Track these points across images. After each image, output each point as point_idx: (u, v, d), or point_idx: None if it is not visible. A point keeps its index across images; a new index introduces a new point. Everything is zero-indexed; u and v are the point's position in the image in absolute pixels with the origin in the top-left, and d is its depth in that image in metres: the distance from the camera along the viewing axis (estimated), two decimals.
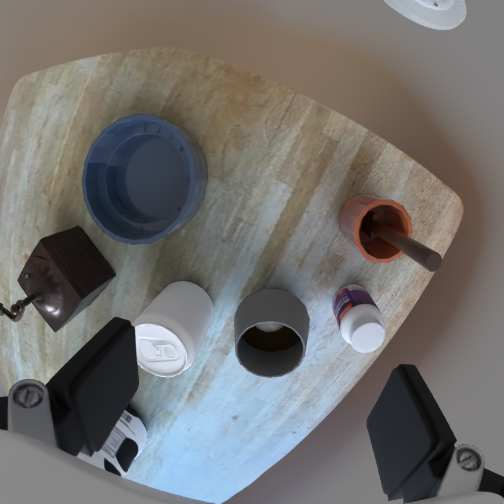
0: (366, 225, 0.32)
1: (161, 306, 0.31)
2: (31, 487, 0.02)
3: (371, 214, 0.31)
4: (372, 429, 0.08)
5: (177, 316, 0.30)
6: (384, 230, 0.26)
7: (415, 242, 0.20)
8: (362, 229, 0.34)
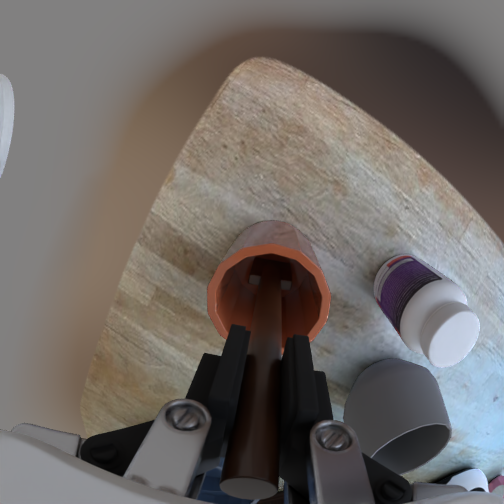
0: None
1: None
2: (31, 487, 0.02)
3: None
4: None
5: None
6: None
7: None
8: None
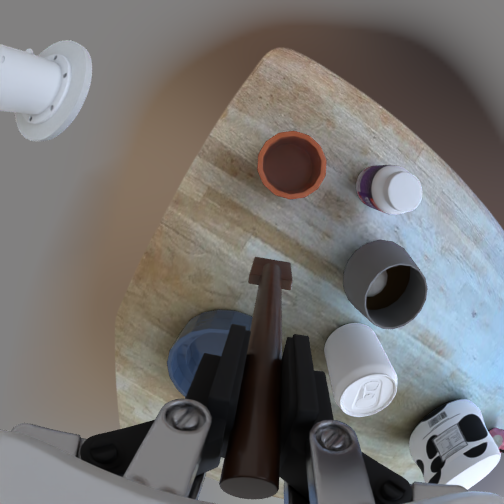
0: None
1: (333, 379, 0.32)
2: (31, 487, 0.02)
3: None
4: None
5: (343, 371, 0.30)
6: None
7: None
8: None
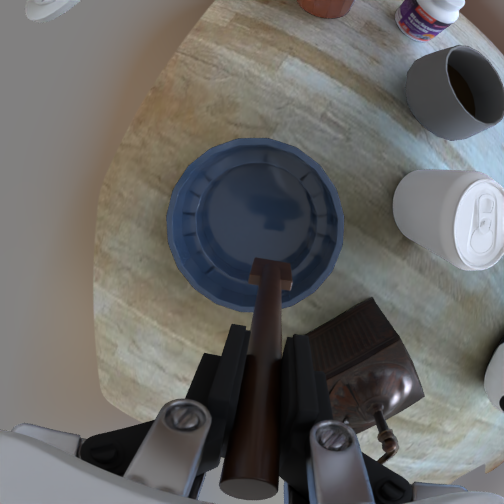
0: None
1: (429, 211, 0.20)
2: (31, 487, 0.02)
3: None
4: None
5: (444, 186, 0.18)
6: None
7: None
8: None
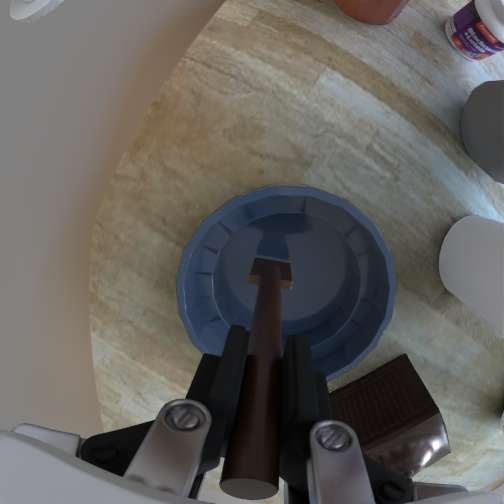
0: None
1: (491, 282, 0.14)
2: (31, 487, 0.02)
3: None
4: None
5: None
6: None
7: None
8: None
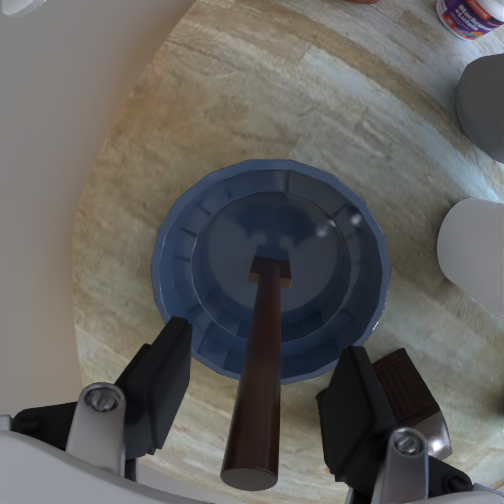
0: None
1: (495, 265, 0.13)
2: (31, 487, 0.02)
3: None
4: (325, 410, 0.09)
5: None
6: None
7: None
8: None
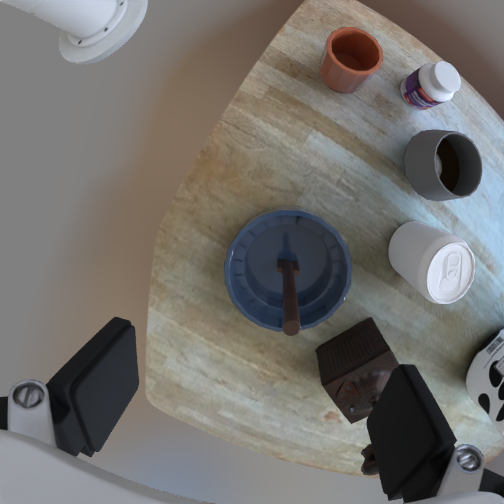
0: None
1: (412, 262, 0.29)
2: (31, 487, 0.02)
3: None
4: (372, 429, 0.08)
5: (423, 246, 0.28)
6: None
7: None
8: None
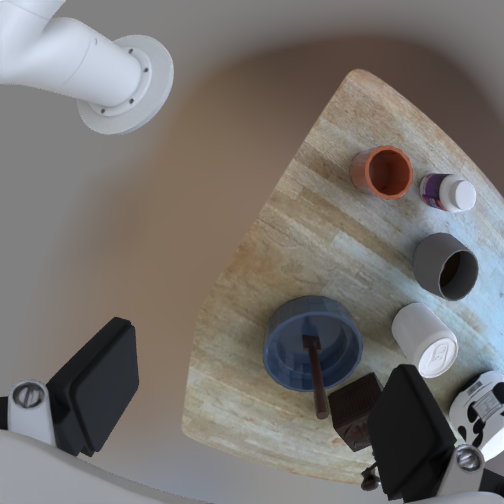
0: None
1: (409, 348, 0.36)
2: (31, 487, 0.02)
3: None
4: (372, 429, 0.08)
5: (419, 339, 0.35)
6: None
7: None
8: None
